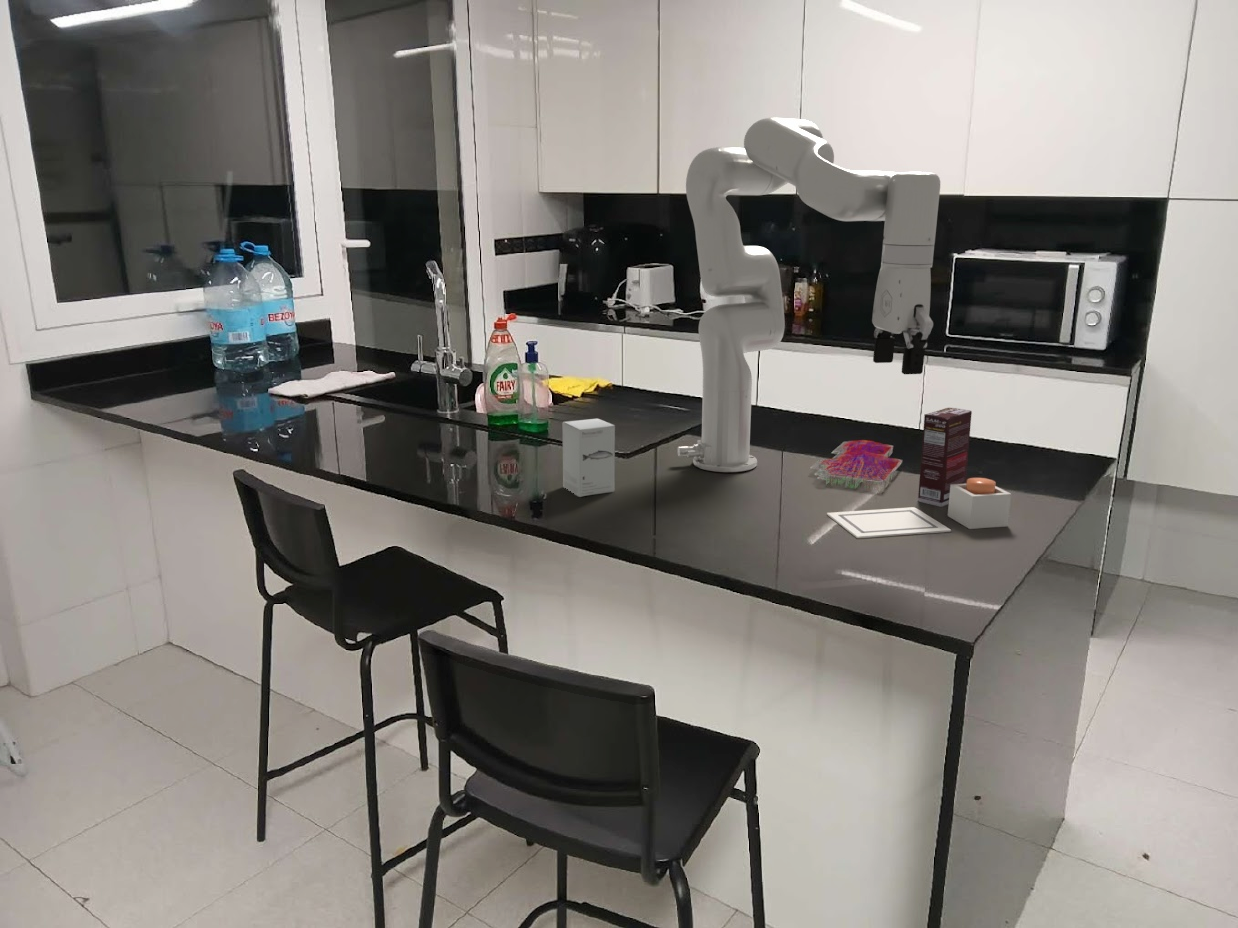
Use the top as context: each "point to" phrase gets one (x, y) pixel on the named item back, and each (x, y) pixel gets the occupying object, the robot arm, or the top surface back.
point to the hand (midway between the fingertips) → (896, 367)
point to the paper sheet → (887, 522)
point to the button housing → (979, 507)
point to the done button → (980, 486)
